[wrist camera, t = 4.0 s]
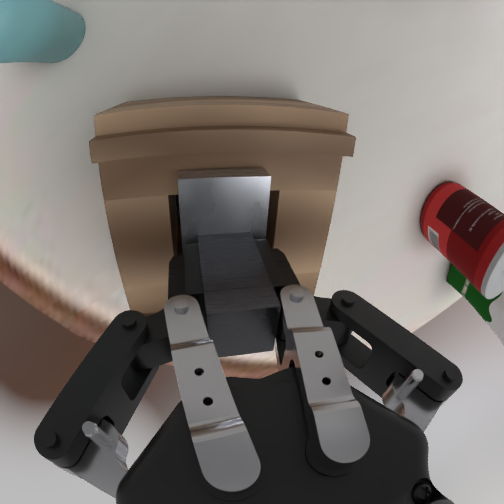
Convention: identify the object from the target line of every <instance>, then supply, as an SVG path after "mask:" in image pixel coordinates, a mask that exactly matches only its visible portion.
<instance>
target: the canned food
mask: <svg viewBox="0 0 504 504" xmlns="http://www.w3.org/2000/svg"><path fill="white" fill-rule="evenodd" d="M421 229H422V231H423V234H424V235H425V237H426V239H427V240H428V241H429V242H430V243H431V244H432V245H433V246H434V247H435V248H436V249H437V250H439V251H440V252H441V253H442V254H443V255H444V256H445V257H446V258H447V259H448V260H449V261H450V262H451V263H452V264H453V265H454V266H455V267H456V268H457V269H458V270H459V271H460V272H461V273H462V274H463V275H464V276H465V277H466V278H467V279H468V280H469V281H470V283H471V284H472V285H473V286H474V287H475V288H476V289H477V290H478V291H479V292H480V293H481V294H482V295H483V296H485V298H487V299H492V298H494V297H496V296H498V295H499V294H500V293H501V292H503V291H504V214H503V213H501V212H500V211H499V210H497V209H496V208H495V207H493V206H492V205H490V204H489V203H487V202H486V201H484V200H483V199H482V198H480V197H479V196H477V195H475V194H474V193H472V192H471V191H469V190H468V189H466V188H465V187H463V186H461V185H460V184H457V183H452V182H446V183H443V184H441V185H440V186H438V187H437V188H436V189H435V190H434V191H433V192H432V193H431V194H430V196H429V197H428V199H427V201H426V203H425V205H424V207H423V211H422V215H421Z"/></svg>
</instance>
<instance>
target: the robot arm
mask: <svg viewBox="0 0 504 504" xmlns="http://www.w3.org/2000/svg"><path fill="white" fill-rule="evenodd" d="M254 241H255V243H256V245H257V248H258V250H259V253H260V255H261V258H262V260H263V263H264V265H265V268H266V270H267V273H268V275H269V278H270V280H271V283H272V285H273V288H274V290H275V293H276V295H277V297H278V300H279V302H280V305H281V309H280V315H279V321H278V326H277V332H276V338H275V343H274V345H275V352H276V358H277V364H278V372H276V373H274V374H272V375H269V376H267V377H264V378H261V379H251V378H238V377H225V375H224V372H223V369H222V366H221V363H220V361H219V358H218V355H217V352H216V349H215V346H214V343H213V341H212V339H210V338H209V336H208V333H207V329H206V317H205V304H204V291H203V283H202V274H201V265H200V255H199V245H198V243H195V244H184V255H174V256H173V257H172V259H171V260H170V262H169V275H168V276H169V277H168V300H167V301H166V303H165V305H164V308H163V309H162V310H160V311H159V312H157V313H155V314H152V315H149V316H146V317H145V316H144V314H143V313H141V312H139V311H136V310H128V311H124V312H122V313H120V314H119V315H117V316H116V317H115V319H114V320H113V321H112V322H111V324H110V325H109V326H108V328H107V329H106V330H105V332H104V333H103V334H102V335H101V337H100V338H99V339H98V341H97V342H96V343H95V345H94V346H93V348H92V349H91V350H90V352H89V353H88V354H87V356H86V357H85V359H84V360H83V361H82V363H81V364H80V365H79V367H78V368H77V370H76V371H75V372H74V374H73V375H72V377H71V378H70V380H69V381H68V383H67V384H66V385H65V387H64V388H63V390H62V391H61V393H60V394H59V396H58V397H57V399H56V400H55V401H54V403H53V405H52V406H51V408H50V409H49V411H48V412H47V414H46V415H45V417H44V418H43V420H42V422H41V423H40V425H39V426H38V428H37V430H36V432H35V435H34V443H35V447H36V449H37V450H38V452H39V453H40V454H41V455H42V456H43V457H45V458H46V459H48V460H49V461H51V462H53V463H54V464H55V465H56V466H58V467H60V468H61V469H63V470H65V471H67V472H69V473H70V474H73V475H76V476H78V477H80V478H82V479H84V480H85V481H87V482H89V483H90V484H92V485H93V486H95V487H97V488H98V489H100V490H102V491H104V492H106V493H107V494H109V495H111V496H112V497H114V498H116V503H117V504H454V503H453V502H452V501H451V500H449V499H448V498H446V497H445V496H444V495H442V494H441V493H440V492H439V491H438V490H437V489H436V488H435V487H434V485H433V484H432V482H431V480H430V477H429V471H428V442H427V439H426V436H425V434H424V431H425V429H426V428H427V426H428V425H429V423H430V422H431V420H432V418H433V417H434V415H435V414H436V412H437V410H438V409H439V407H440V406H441V405H442V404H443V403H444V402H445V401H446V400H447V399H448V398H449V397H450V396H451V395H452V394H453V393H454V392H455V391H456V390H457V389H458V388H459V387H460V386H461V384H462V380H463V379H462V374H461V372H460V370H459V368H458V367H457V366H456V365H455V364H453V363H451V362H450V361H449V360H448V359H446V358H445V357H444V356H442V355H441V354H440V353H438V352H437V351H436V350H434V349H433V348H431V347H430V346H429V345H427V344H426V343H425V342H423V341H422V340H420V339H419V338H418V337H416V336H415V335H414V334H412V333H411V332H409V331H408V330H407V329H405V328H404V327H402V326H401V325H400V324H398V323H397V322H395V321H394V320H393V319H391V318H390V317H388V316H387V315H386V314H384V313H383V312H381V311H380V310H378V309H377V308H376V307H374V306H373V305H371V304H370V303H368V302H367V301H366V300H364V299H363V298H361V297H360V296H358V295H357V294H355V293H353V292H351V291H347V290H341V291H337V292H335V293H334V294H333V296H332V299H329V298H320V297H315V296H313V294H312V292H311V291H310V290H309V289H308V288H306V287H304V286H301V285H300V283H299V281H298V279H297V277H296V275H295V273H294V271H293V269H292V267H291V265H290V263H289V262H288V260H287V258H286V256H285V254H284V253H283V252H281V251H280V250H279V249H278V248H274V249H271V247H270V245H269V243H268V241H267V239H257V240H254ZM352 331H354V332H355V333H357V334H358V335H359V336H360V337H362V338H363V339H364V340H366V341H367V342H368V343H369V344H370V345H371V347H372V350H371V349H370V348H368V347H367V346H366V345H364V344H363V343H362V342H360V341H359V340H358V339H357V338H355V337H354V336H353V335H351V333H352ZM171 361H173V363H174V368H175V372H176V377H177V381H178V386H179V390H180V394H181V398H182V400H181V401H180V402H179V403H178V405H177V406H176V407H175V409H174V410H173V411H172V413H171V414H170V415H169V417H168V418H167V420H166V421H165V422H164V424H163V425H162V426H161V428H160V429H159V431H158V432H157V433H156V434H155V436H154V437H153V438H152V440H151V441H150V443H149V444H148V445H147V447H146V448H145V449H144V450H143V452H142V453H141V454H140V456H139V457H138V459H137V460H136V461H135V462H134V464H133V465H132V466H131V468H130V469H129V470H128V468H127V465H126V457H127V454H128V444H127V441H126V440H125V438H124V437H123V436H122V434H123V432H124V430H125V428H126V426H127V425H128V423H129V421H130V419H131V417H132V415H133V414H134V412H135V410H136V408H137V406H138V404H139V403H140V401H141V399H142V397H143V395H144V394H145V392H146V390H147V388H148V386H149V385H150V383H151V381H152V379H153V377H154V376H155V374H156V372H157V370H158V368H159V366H160V365H162V364H165V363H168V362H171ZM344 367H345V368H346V369H347V370H348V371H349V372H351V373H352V374H353V375H354V376H356V377H357V378H358V379H359V380H361V381H362V382H363V383H364V384H365V385H367V386H368V387H369V388H370V389H371V390H373V391H374V392H375V393H377V394H378V395H379V396H380V397H381V398H382V401H383V404H384V405H382V404H381V403H379V402H377V401H375V400H374V399H372V398H370V397H368V396H367V395H365V394H363V393H362V392H360V391H359V390H357V389H355V388H354V387H352V386H350V384H349V381H348V378H347V375H346V372H345V369H344Z"/></svg>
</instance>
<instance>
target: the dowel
mask: <svg viewBox="0 0 504 504" xmlns="http://www.w3.org/2000/svg"><path fill="white" fill-rule="evenodd" d="M84 34H85V22H84V20H83V18H82V16H81V15H79V14H78V13H76V12H74V11H72V10H70V9H68V8H66V7H64V6H62V5H60V4H58V3H56V2H54V1H52V0H0V63H11V62H49V63H54V62H59V61H62V60H64V59H66V58H68V57H69V56H70V55H72V54H73V53H74V52H75V51H76V50H77V48H78V47H79V45H80V44H81V42H82V40H83V37H84Z"/></svg>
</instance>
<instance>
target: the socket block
mask: <svg viewBox="0 0 504 504" xmlns="http://www.w3.org/2000/svg"><path fill="white" fill-rule="evenodd" d="M348 115H349V114H346V113H343V112H340V111H336V110H333V109H330V108H326V107H323V106H319V105H315V104H312V103H308V102H304V101H300V100H291V99H278V98H263V97H235V96H207V97H180V98H165V99H153V100H143V101H134V102H126V103H123V104H120V105H118V106H115V107H113V108H110V109H108V110H106V111H103V112H101V113H99V114H96V115H94V121H95V134H96V137H94V138H93V139H91V140H90V141H89V146H90V154H91V162H92V163H97V162H99V170H100V177H101V184H102V191H103V197H104V203H105V208H106V214H107V219H108V224H109V229H110V234H111V238H112V243H113V247H114V252H115V256H116V260H117V264H118V268H119V272H120V276H121V279H122V283H123V287H124V290H125V294H126V297H127V301H128V304H129V307H130V310H136V311H139V312H141V313H143V314H144V316H145V317H146V316H149V315H152V314H155V313H157V312H159V311H160V310H162V309H163V308H164V305H165V303H166V301H167V300H168V277H169V276H168V275H169V262H170V260H171V259H172V257H173V256H174V255H183V247H182V236H181V226H178V220H177V207H176V195H178V194H179V193H178V171H186V170H205V169H233V168H265V169H266V171H267V172H268V173H269V174H270V176H271V185H270V196H269V207H268V219H267V230H266V239H267V241H268V243H269V245H270V247H271V249H274V248H278V249H279V250H280V251H281V252H283V253H284V254H285V256H286V258H287V260H288V262H289V263H290V265H291V267H292V269H293V271H294V273H295V275H296V277H297V279H298V281H299V283H300V285H301V286H304V287H306V288H308V289H309V290H310V291H311V292H312V294H313V296H314V292H315V288H316V284H317V280H318V276H319V272H320V267H321V263H322V259H323V254H324V250H325V245H326V241H327V236H328V231H329V227H330V222H331V217H332V212H333V207H334V201H335V196H336V191H337V185H338V180H339V174H340V168H341V162H342V156H351V157H353V153H354V147H355V140H356V137H354V136H352V135H350V134H348V133H346V129H347V122H348Z"/></svg>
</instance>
